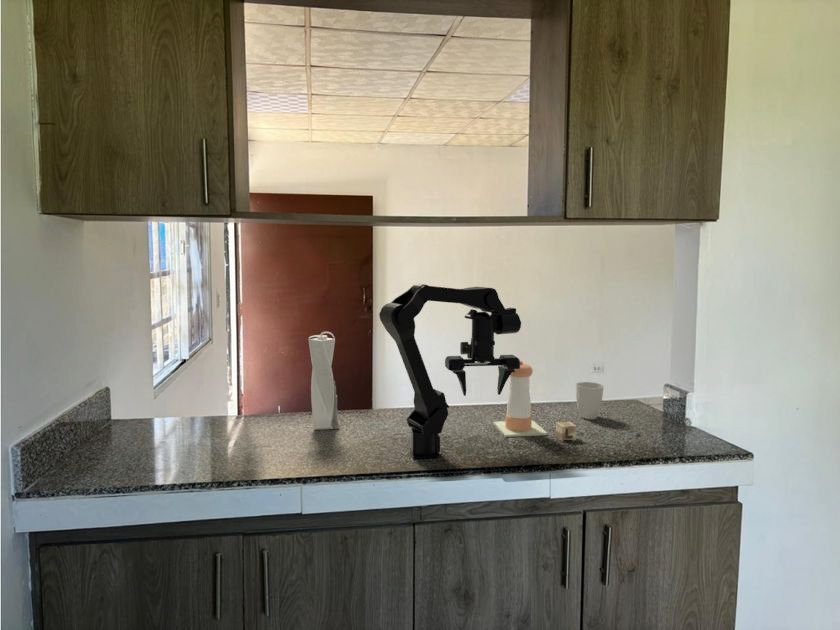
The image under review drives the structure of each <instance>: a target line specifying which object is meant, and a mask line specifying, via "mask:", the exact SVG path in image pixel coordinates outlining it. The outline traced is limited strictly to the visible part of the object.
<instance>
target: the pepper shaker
mask: <svg viewBox="0 0 840 630" xmlns="http://www.w3.org/2000/svg"><path fill="white" fill-rule="evenodd" d="M514 370H515V372H512V373H511V374H510V376H509V392H508V396H507V402H506V414H505V421H506V424H505V427H506V428H507V429H509V430H512V431H529V430H531V423H532V417H533V416H532V415H531V410H532V409H531V408H532V401H531V396H530V395H531V394H530V380H531V379H530V377H531V376H533V368H532V367H531V365H529V364H527V363H524V362H523V361H522V360H520V369H514Z"/></svg>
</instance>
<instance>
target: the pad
mask: <svg viewBox="0 0 840 630" xmlns="http://www.w3.org/2000/svg"><path fill="white" fill-rule="evenodd" d="M492 424H493V425H494V427H495V428H497V429H498V431H500V433H501V434H502V435H503V436H504V437H505V438H508V437H509V438H513V437H514V438H515V437H533V436H534V437H535V436H536V437H537V436H538V437H539V436H548V434H549V433H548V432H547V431H546V430H545V429H544V428H542V427H541V426H540V425H539V424H538V423H537V422H535V421H534V419H533V420H532V423H531V430H529V431H512V430H509V429H507V428H506V427H505V424H506V420H504V421H503V420H502V421H501V420H500V421H493V423H492Z"/></svg>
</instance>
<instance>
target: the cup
mask: <svg viewBox="0 0 840 630" xmlns="http://www.w3.org/2000/svg"><path fill="white" fill-rule="evenodd" d="M604 387H605V386H604V385H603V384H601V383H597V382H592V381H591V382H590V381H582V382H581V381H579V382H577V383H575V397H576V398H575V400H576V407H577V412H578V416H579V418H581V417H582V418H581V419H584V418H585V419H586V420H596V419H598V415H599V414H600V410H601V407H602V401H603V394H604Z"/></svg>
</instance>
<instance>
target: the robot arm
mask: <svg viewBox="0 0 840 630" xmlns="http://www.w3.org/2000/svg"><path fill="white" fill-rule="evenodd" d="M498 293H499V292H497V289H495V288H492V287H485V286H471V287H470V286H469V287H464V288H453V287H452V288H451V287H444V286H443V287H442V286H433V285H428V284H426V283H425V284H423V283H415V284H413V285H412V286H411V287H410V288H408V289H407V290H406V291H405V292H403V293H401V294H400V295H398V296H397V297H395V298H394V299H393V300H392V301H391V302H388V303H386V304H384V305H383V306H382V307H381V309H380V312H379V314H378V315H379V320H380V321H381V324H382V325H383V327H384V329H385V331H386V332H387V333H388V334H389V336H390V337H391V338H392V339H393V340H394V342H395V344H396V346H397V349H398V352H399V355H400V357H401V360H402V362H403V365H404V368H405V370H406V373H407V376H408V378H409V381H410V383H411V386H412V389H413V392H414V394H413V406H414V409H413V411H412V412H411V413H410V414H409V416H408V417H407V418H406V423H407V426H408V428H409V427H410V428H411V432H410V433H411V435H410V436H411V437H410V441H411V443H410V448H409V451H410V454H411V456H412V459H437V458H440V452H441V436H440V434H442V432H443V429H444V425H445V422H446V420H447V419H448V416H449V408H450V406H449V404H448V403H447V399H446V395H445V393H444V392H442V391H440V390H437V389H435V388H434V387H433V384H432V381H431V379H430V376H429V374H428V370H427V368H426V365H425V362H424V359H423V357H422V354H421V352H420V348H419V346H418V343H417V340H416V338H415V337H416V336H415V333H416V321H415V318H416V317H417V316H418V315H419V314H420V313H421V311H422V310H423V308H424V306H425V305H426V303H427V302H428V301H429V302H440V303H448V304H449V303H451V304H461V305H463V306H467V307H469V308H471V309H470V310H469V312H467V313H466V314H465V315H464V319H468V320H471V338H470V343H469V341H461V342H460V345H459V347H460V355H448V356H446V357H445V360H444V366H445V368H446V369H447V370H448V371H451V372H452V373H453V374H455V375H456V377H457V379H458V382H459V385H460V388H461V391H462V395H463V396H464V397H466V395H467V380H466V379H467V376H466V375H467V373H466V370H464V369H465V367H489V366H490V367H491V366H498V367H497V368H498V380H497V395H499V396H500V395H501V393H502V392H503V389H504V386H505V385H506V383H507V381H508V380H509V379H510V374H511V373H512V372H515V370H514V369H520V361H521V360H520V358H519V357H517V356H516V355H514V354H500V356H499V357H498V358H497V357H496V358H495V355H494V354H495V353H494V351H495V350H494V349H495V345H496V341H495V334H496V335H509V334H517V333H519V332H520V330H521V328H522V321H521V318H520V315H519V314H518V313H517V308H515V307H507V308H505V306H504V305H503V303H502V301H501V299H500V297H499V294H498ZM477 310H480V311H477ZM461 355H466V356H467V358H463V356H461Z"/></svg>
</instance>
